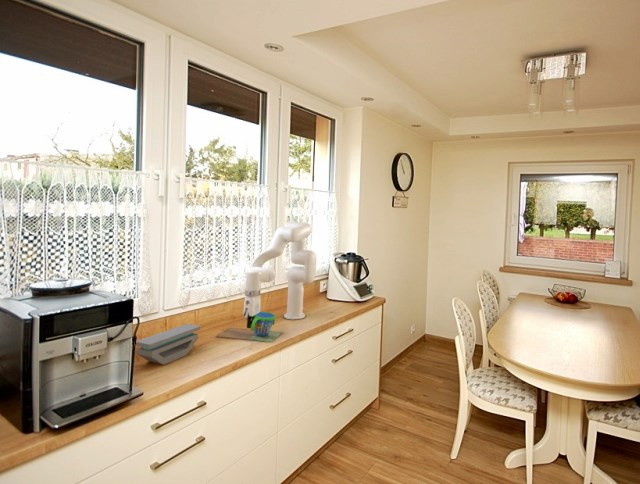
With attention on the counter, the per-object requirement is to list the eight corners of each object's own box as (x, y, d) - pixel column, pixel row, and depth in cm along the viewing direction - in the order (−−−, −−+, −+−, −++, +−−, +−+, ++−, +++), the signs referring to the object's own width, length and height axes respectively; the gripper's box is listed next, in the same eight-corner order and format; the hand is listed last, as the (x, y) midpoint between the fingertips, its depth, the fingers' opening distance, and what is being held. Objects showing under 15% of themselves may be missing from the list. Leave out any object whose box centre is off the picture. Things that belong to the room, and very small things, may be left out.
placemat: (230, 328, 198) (230, 328, 198) (281, 333, 195) (281, 332, 195) (216, 337, 185) (216, 336, 185) (270, 342, 182) (271, 341, 182)
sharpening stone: (148, 371, 144) (149, 344, 144) (133, 367, 147) (134, 341, 146) (199, 349, 168) (200, 326, 168) (185, 346, 171) (187, 323, 170)
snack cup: (266, 327, 200) (269, 309, 200) (279, 333, 195) (283, 315, 195) (242, 333, 186) (246, 314, 186) (256, 340, 181) (260, 320, 181)
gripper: (252, 296, 181) (250, 333, 181) (266, 290, 196) (263, 324, 196) (238, 295, 182) (235, 331, 182) (252, 289, 197) (250, 323, 197)
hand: (250, 327), depth 189 cm, fingers closed
